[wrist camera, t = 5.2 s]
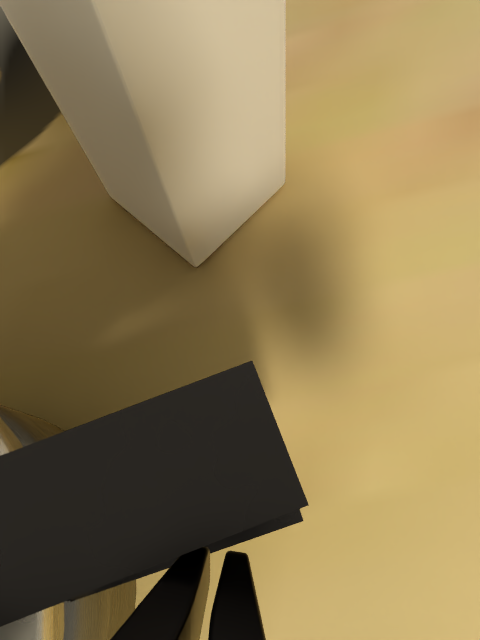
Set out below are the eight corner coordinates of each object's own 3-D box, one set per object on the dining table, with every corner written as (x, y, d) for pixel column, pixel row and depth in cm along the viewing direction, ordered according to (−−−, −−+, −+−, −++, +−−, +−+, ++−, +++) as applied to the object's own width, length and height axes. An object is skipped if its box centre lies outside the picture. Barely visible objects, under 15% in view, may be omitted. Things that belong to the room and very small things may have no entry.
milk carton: (110, 198, 26) (-246, -418, 9) (197, 122, 28) (46, -536, 10) (196, 271, 24) (-47, -361, 6) (286, 184, 26) (290, -523, 8)
